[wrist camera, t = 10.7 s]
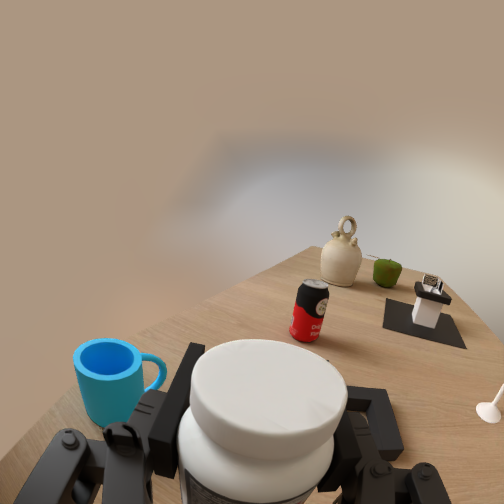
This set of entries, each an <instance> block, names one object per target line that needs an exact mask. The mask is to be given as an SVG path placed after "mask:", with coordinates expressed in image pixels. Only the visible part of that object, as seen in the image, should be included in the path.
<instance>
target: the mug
mask: <svg viewBox="0 0 504 504" xmlns="http://www.w3.org/2000/svg"><path fill="white" fill-rule="evenodd" d="M73 361H74V367H75V371H76V375H77V379H78V383H79V387H80V391H81V394H82V398H83V401H84V404H85V408H86V411H87V414H88V415H89V417H90V418H91V420H92V421H93V422H95V423H96V424H98V425H99V426H101V427H104V428H105V427H106V426H108V425H109V424H111V423H114V422H126V423H127V421H128V419H129V418H130V416H131V414H132V412H133V410H134V408H135V407H136V405H137V404H138V401H139V399H140V398H141V396H142V394H144V393H145V392H146V391H148V390H149V389H154V390H158V389H159V388H160V387H161V386H162V384H163V383H164V381H165V379H166V375H167V368H166V364H165V363H164V362H163V361H162V360H161V359H160V358H159V357H157V356H155V355H152V354H146V353H140V352H139V350H138V349H137V348H135V347H134V346H133V345H131V344H129V343H127V342H125V341H122V340H118V339H111V338H101V339H94V340H91V341H87V342H86V343H84V344H82V345H80V346H79V347H78V348H77V349H76V350H75V352H74V355H73ZM142 361H152V362H154V363H156V364H157V365H158V366H159V375H158V377H157V378H156V380H155V381H154V382H153V383H152V384H151V385H150V386H149V387H147V388H146V389H144V381H143V369H142Z"/></svg>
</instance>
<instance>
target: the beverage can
mask: <svg viewBox="0 0 504 504" xmlns="http://www.w3.org/2000/svg"><path fill="white" fill-rule="evenodd" d="M328 299H329V291H328V284H327V283H325V282H323V281H320V280H315V279H304V280H303V283H302V285H301V286H300V287H299V288H298V293H297V297H296V302H295V307H294V311H293V316H292V320H291V325H290V329H289V331H290V334H291V335H292V336H293V337H294V338H295V339H296V340H298V341H301V342H311V341H313V340H315V339H317V338H318V336H319V333H320V329H321V326H322V322H323V318H324V314H325V311H326V307H327V303H328Z"/></svg>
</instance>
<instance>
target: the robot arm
mask: <svg viewBox="0 0 504 504" xmlns="http://www.w3.org/2000/svg"><path fill="white" fill-rule="evenodd" d="M204 351H205V345H202V344H197V343H192V342H190V344H189V346H188V349H187V351H186V353H185V355H184V357H183V359H182V362H181V364H180V366H179V368H178V370H177V372H176V375H175V377H174V379H173V381H172V383H171V386H170V388H169V390H168V392H167V393H166V392H162V391H158V390H154V389H149V390H148V391H146V392H145V393H144V394H142V396H141V398H140V399H139V401H138V404H137V405H136V407H135V408H134V410H133V412H132V414H131V416H130V418H129V419H128V421H127V423H126V422H114V423H111V424H109V425H108V426H106V427H105V428H104V431H103V435H104V438H105V441H98V440H91V439H86V438H85V436H84V435H83V434H82V433H81V432H79V431H78V430H75V429H71V428H70V429H63V430H60V431H59V432H58V433H57V434H56V435H55V436H54V438H53V439H52V441H51V442H50V444H49V445H48V447H47V449H46V450H45V452H44V453H43V455H42V456H41V458H40V459H39V461H38V463H37V464H36V466H35V467H34V469H33V471H32V472H31V474H30V476H29V477H28V479H27V481H26V482H25V484H24V486H23V487H22V489H21V491H20V493H19V494H18V496H17V498H16V500H15V501H14V503H13V504H93V502H94V500H95V497H96V495H97V493H98V490H99V488H100V485H101V484H102V485H103V493H102V504H153V495H152V481H151V475H152V473H153V470H154V472H155V474H156V475H160V476H163V477H167V478H171V479H174V477H175V473H176V470H177V466H178V460H177V445H176V434H177V430H178V426H179V423H180V420H181V418H182V416H183V415H184V413H185V412H186V410H187V409H188V408H189V407H190V391H191V376H192V372H193V368H194V366H195V364H196V362H197V361H198V359H199V358H200V357H201V356H202V355H203V354H204ZM326 361H328V362H329V360H326ZM333 438H334V451H333V457H332V461H331V464H330V466H329V469H328V470H327V472H326V474H325V475H324V476H323V478H322V479H321V481H320V482H319V484H318V485H317V489H318V492H331V491H336V490H337V489H338V488H339V486H340V485H341V488H342V493H341V494H340V495H339V496H338V497H337V498H336V499H335V501H334V502H333V504H336V503H337V502H338V503H337V504H451V501H450V499H449V496H448V494H447V492H446V489H445V487H444V485H443V482H442V480H441V478H440V476H439V473H438V471H437V469H436V468H435V467H434V466H433V465H431V464H429V463H426V462H424V463H419V464H416V465H415V466H414V467H413V468H412V469H398V468H393V466H392V465H391V464H390V463H389V462H387V461H385V460H382V459H381V457H380V454H379V452H378V449H377V446H376V444H375V441H374V439H373V436H372V435H371V431H370V429H369V426H368V424H367V421H366V419H365V418H364V417H363V416H362V415H361V414H360V413H359V412H347V410H346V407H345V410H344V412H343V415H342V417H341V419H340V422H339V424H338V426H337V428H336V430H335V432H334V434H333Z"/></svg>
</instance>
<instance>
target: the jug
mask: <svg viewBox="0 0 504 504" xmlns="http://www.w3.org/2000/svg"><path fill="white" fill-rule="evenodd" d="M347 220H349V221H350V222H351V225H352V227H351V231H350V232H349V233H345V232H344V230H343V225H344V222H345V221H347ZM356 228H357V225H356V222H355V220H354V218H352V217H350V216H345V217H343V218H342V219H341V220H340V222H339V225H338V229H339V231H335V232H333V233H332V234H331V235H332V236H333V238H334V239H332V240H331V241H329V242H328V243H327V244H326V245H325V246H324V248H323V250H322V254H321V279H322V280H323V281H325V282H327V283H330V284H333V285H336V286H342V287H349V286H351V285H352V283H353V281H354V280H355V277H356V275H357V273H358V270H359V268H360V265H361V261H362V255H361V250H360V248H359V247H358V245H357V238H354V239H351V236H353V235H354V234H355V231H356ZM340 234H341V235H340Z"/></svg>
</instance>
